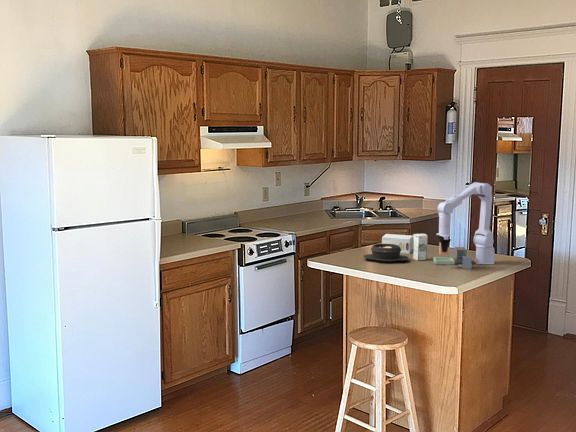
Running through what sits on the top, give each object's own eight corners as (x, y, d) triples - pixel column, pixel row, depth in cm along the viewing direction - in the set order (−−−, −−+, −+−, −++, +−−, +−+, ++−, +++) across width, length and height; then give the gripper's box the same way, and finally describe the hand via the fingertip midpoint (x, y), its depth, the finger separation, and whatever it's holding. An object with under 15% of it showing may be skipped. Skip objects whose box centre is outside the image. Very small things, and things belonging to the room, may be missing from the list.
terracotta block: (446, 253, 330) (447, 242, 330) (448, 255, 326) (448, 243, 326) (439, 253, 331) (439, 242, 330) (440, 254, 327) (440, 243, 326)
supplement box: (381, 252, 374) (381, 236, 372) (385, 248, 386) (386, 233, 384) (409, 254, 368) (410, 238, 366) (413, 250, 380) (413, 235, 379)
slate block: (469, 267, 330) (470, 256, 329) (471, 269, 326) (471, 257, 325) (462, 267, 331) (462, 256, 330) (463, 268, 327) (463, 257, 326)
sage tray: (451, 261, 346) (451, 257, 345) (454, 265, 336) (454, 261, 336) (433, 261, 347) (433, 257, 346) (435, 264, 337) (435, 260, 336)
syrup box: (421, 258, 354) (422, 233, 352) (426, 260, 348) (427, 234, 346) (412, 259, 352) (413, 233, 350) (417, 261, 347) (418, 235, 345)
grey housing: (464, 260, 347) (465, 246, 346) (468, 264, 337) (468, 250, 336) (451, 260, 348) (452, 246, 347) (455, 264, 337) (455, 250, 336)
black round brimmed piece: (361, 262, 342) (361, 247, 341) (365, 256, 360) (365, 242, 359) (407, 265, 336) (408, 249, 335) (409, 258, 354) (409, 243, 353)
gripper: (434, 223, 334) (434, 248, 336) (438, 227, 320) (437, 253, 322) (448, 223, 334) (447, 248, 335) (452, 227, 319) (451, 253, 321)
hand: (443, 251), depth 328 cm, fingers closed on terracotta block, 4 cm apart
